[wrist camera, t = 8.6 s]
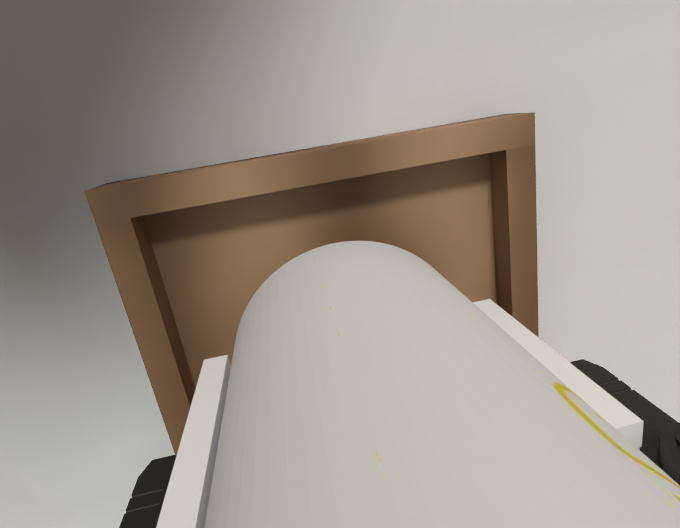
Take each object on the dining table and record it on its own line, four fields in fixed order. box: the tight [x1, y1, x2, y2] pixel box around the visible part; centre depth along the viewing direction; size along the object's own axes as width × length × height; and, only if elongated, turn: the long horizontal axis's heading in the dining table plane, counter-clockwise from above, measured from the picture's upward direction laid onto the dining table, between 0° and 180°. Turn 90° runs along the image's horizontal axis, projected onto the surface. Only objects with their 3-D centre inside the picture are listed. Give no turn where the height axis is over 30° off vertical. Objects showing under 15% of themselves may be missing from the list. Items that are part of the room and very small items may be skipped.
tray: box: [85, 113, 538, 455], centre depth 17 cm, size 14×14×2 cm
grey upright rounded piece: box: [204, 241, 680, 528], centre depth 10 cm, size 8×8×12 cm
